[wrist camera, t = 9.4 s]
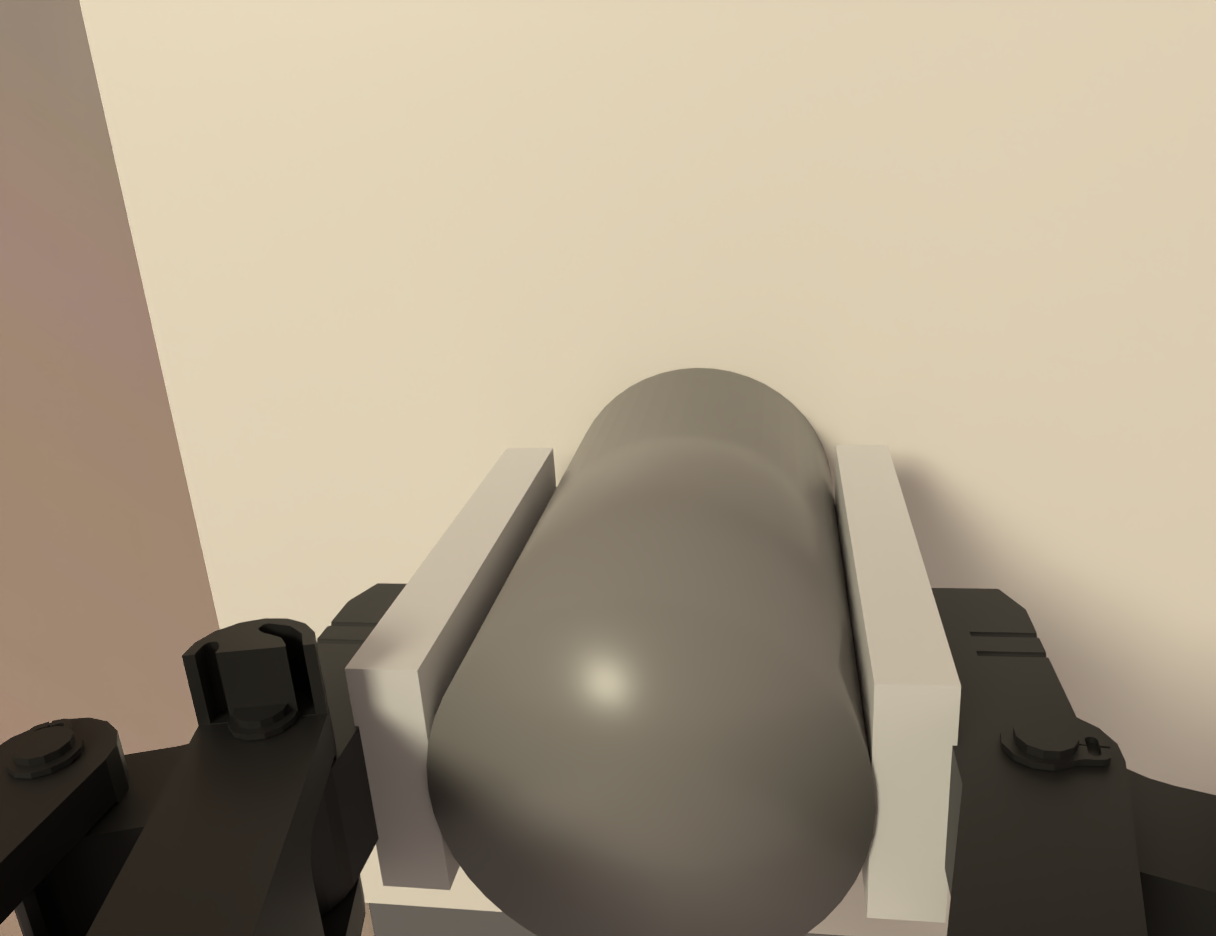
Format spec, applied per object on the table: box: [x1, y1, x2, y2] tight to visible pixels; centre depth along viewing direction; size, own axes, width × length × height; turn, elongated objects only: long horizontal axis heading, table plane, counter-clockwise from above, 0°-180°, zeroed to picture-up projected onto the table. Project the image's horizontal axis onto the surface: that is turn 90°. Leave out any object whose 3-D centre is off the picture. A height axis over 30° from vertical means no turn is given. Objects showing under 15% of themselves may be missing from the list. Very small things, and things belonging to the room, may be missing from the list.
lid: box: [79, 0, 1216, 936], centre depth 14 cm, size 19×19×9 cm
